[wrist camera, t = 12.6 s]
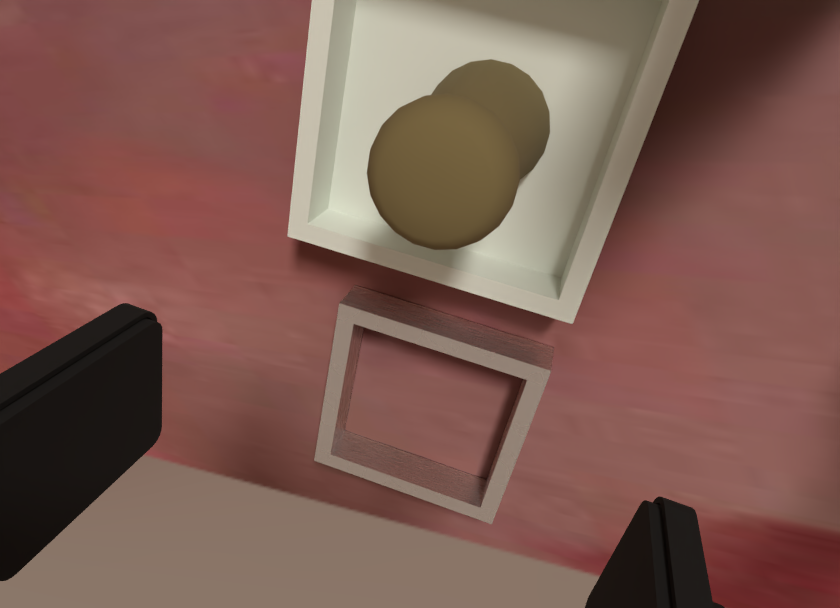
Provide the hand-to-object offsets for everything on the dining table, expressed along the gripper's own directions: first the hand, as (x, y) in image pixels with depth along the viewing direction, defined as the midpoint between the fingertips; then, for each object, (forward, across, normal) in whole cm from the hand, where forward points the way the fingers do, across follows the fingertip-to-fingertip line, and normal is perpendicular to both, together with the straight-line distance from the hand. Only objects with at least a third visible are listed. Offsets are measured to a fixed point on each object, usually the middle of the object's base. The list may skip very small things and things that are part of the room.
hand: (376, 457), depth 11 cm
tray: (+22, +3, -2) cm, 22 cm away
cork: (+21, +2, -2) cm, 21 cm away
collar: (+22, +2, +14) cm, 26 cm away
